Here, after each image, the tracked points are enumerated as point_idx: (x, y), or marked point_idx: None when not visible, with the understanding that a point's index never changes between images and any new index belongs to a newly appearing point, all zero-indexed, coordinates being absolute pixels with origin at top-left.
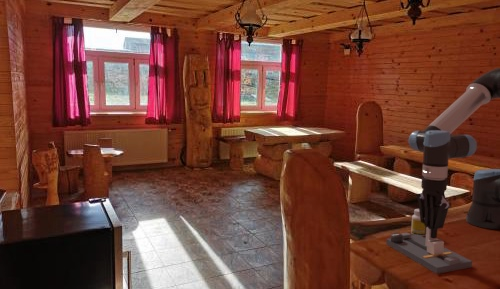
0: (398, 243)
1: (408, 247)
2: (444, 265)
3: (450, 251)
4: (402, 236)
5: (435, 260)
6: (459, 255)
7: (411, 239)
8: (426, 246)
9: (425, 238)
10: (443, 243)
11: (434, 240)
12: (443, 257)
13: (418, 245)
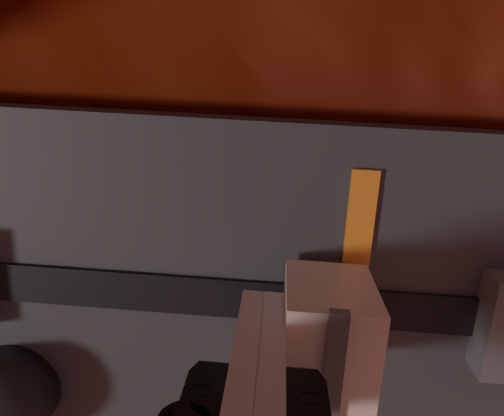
0: (59, 402)
1: (146, 389)
2: (501, 397)
3: (340, 143)
4: (24, 405)
5: (410, 389)
6: (440, 142)
7: (11, 253)
8: (177, 251)
9: (18, 113)
10: (385, 316)
11: (333, 398)
12: (411, 309)
13: (146, 306)
